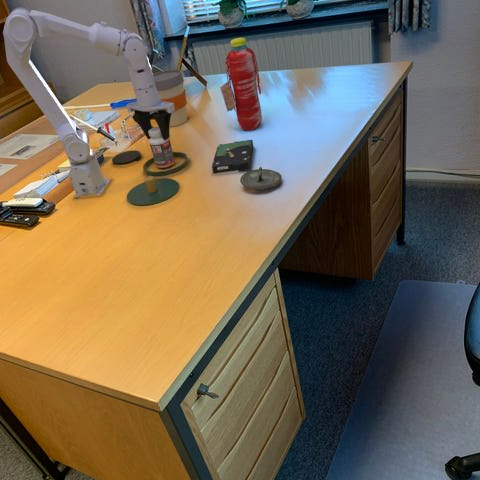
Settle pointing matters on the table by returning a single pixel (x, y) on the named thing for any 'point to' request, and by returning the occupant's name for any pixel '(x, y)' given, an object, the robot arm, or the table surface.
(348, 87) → the table surface
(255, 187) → the lid
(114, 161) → the stand
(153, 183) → the tin lid
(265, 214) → the table surface
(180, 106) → the reusable coffee cup
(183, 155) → the dark green open loop
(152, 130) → the pill bottle
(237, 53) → the water bottle
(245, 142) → the disk drive
